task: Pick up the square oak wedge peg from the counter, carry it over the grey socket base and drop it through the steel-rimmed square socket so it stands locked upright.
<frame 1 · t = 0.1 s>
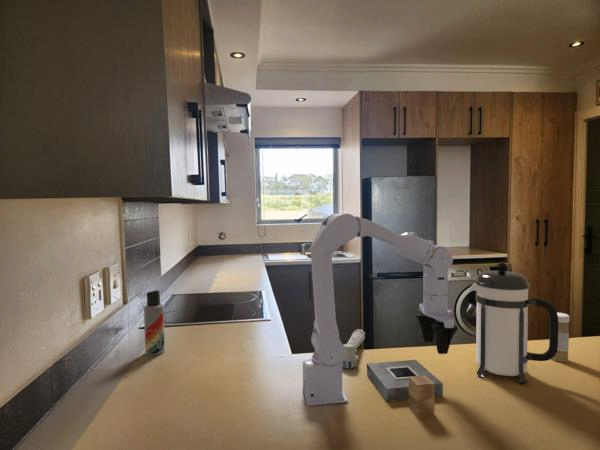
hand: (435, 347, 91), 10 cm above the counter, tool pointing down, fingers open, 7 cm apart
sprinkles bottle: (559, 360, 106), on the counter
coffee press: (506, 373, 98), on the counter
oak peg: (421, 410, 81), on the counter
grey socket base: (402, 384, 93), on the counter
lotion bottle: (155, 353, 116), on the counter
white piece: (353, 354, 114), on the counter
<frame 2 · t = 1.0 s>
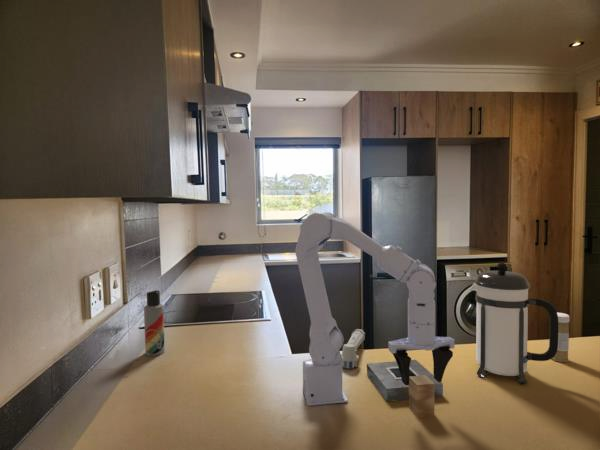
hand: (421, 381, 80), 7 cm above the counter, tool pointing down, fingers open, 7 cm apart
nothing on the counter moved.
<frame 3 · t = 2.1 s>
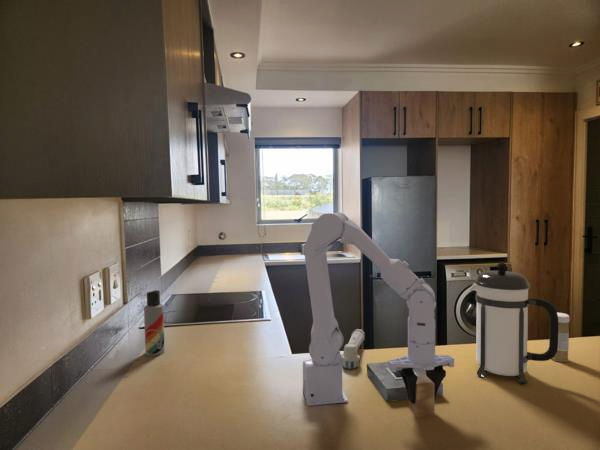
hand: (421, 400, 81), 2 cm above the counter, tool pointing down, fingers closed on oak peg, 4 cm apart
oak peg: (421, 410, 81), on the counter, touching gripper
everything else where it was.
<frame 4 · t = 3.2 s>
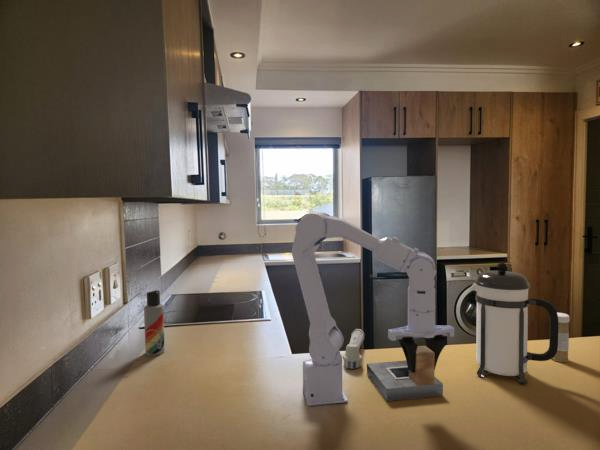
hand: (421, 369, 80), 9 cm above the counter, tool pointing down, fingers closed on oak peg, 4 cm apart
oak peg: (421, 380, 80), point 7 cm above the counter, touching gripper
everything else where it was.
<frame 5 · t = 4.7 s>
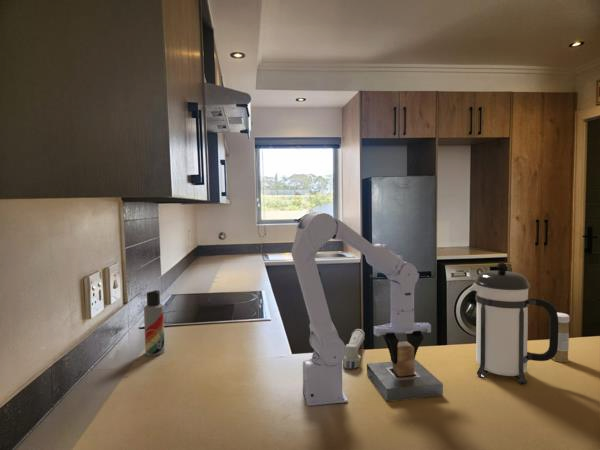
hand: (402, 361, 92), 6 cm above the counter, tool pointing down, fingers closed on oak peg, 4 cm apart
oak peg: (403, 371, 92), point 3 cm above the counter, touching gripper
everything else where it was.
when the fingers open (4 cm above the counter, at t = 5.8 s): oak peg drops 2 cm, resting in grey socket base.
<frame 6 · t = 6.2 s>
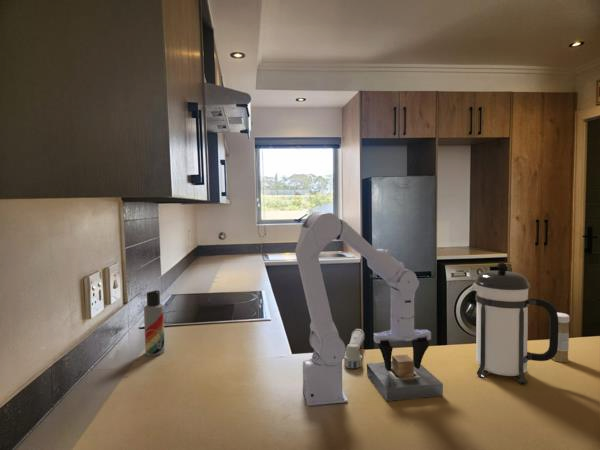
hand: (402, 368, 92), 4 cm above the counter, tool pointing down, fingers open, 7 cm apart
oak peg: (402, 385, 92), resting in grey socket base
everything else where it was.
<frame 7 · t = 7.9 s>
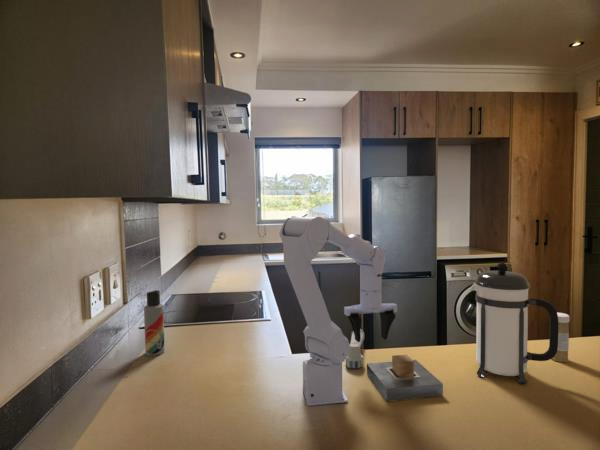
hand: (371, 339, 99), 9 cm above the counter, tool pointing down, fingers open, 7 cm apart
nothing on the counter moved.
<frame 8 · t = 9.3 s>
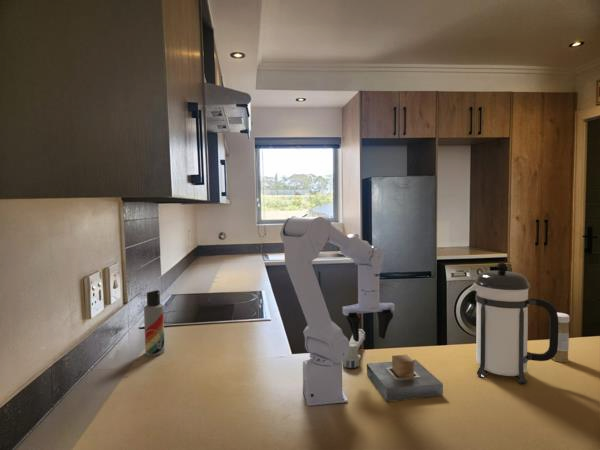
hand: (369, 338, 99), 9 cm above the counter, tool pointing down, fingers open, 7 cm apart
nothing on the counter moved.
at the end: oak peg 0.3 cm off-centre on the grey socket base, point 0.0 cm above the grey socket base's base; oak peg tilted 0°; the gripper is holding nothing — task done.
